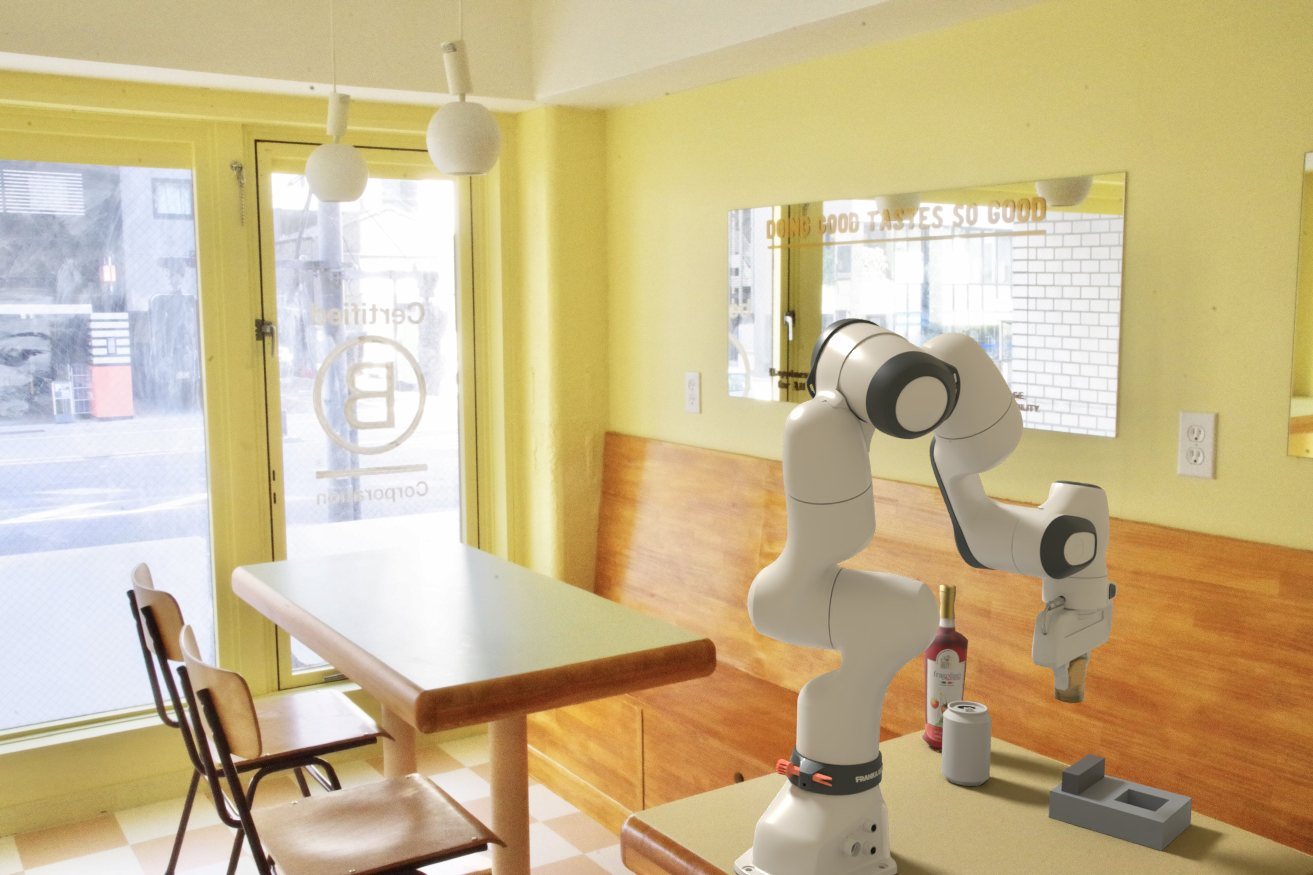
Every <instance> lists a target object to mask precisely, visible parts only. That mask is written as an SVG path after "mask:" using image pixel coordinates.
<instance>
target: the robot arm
mask: <svg viewBox="0 0 1313 875" xmlns="http://www.w3.org/2000/svg"><path fill="white" fill-rule="evenodd" d="M805 383H806V388H807V391H808V394H809V395H810V397H811V399H810V400H806V401H804V402H801V403H800V404H798V405H796V406H795V407H793V409H792V410H791V411H790V412H789V413H788V415H787V417H786V419H785V422H784V426H783V427H784V428H783V436H782V459H781V460H782V463H781V465H782V476H783V477H782V478H783V479H782V480H783V487H784V488H783V489H784V496H785V504H786V505H785V506H786V519H787V520H786V521H787V535H786V536H787V537H786V542H785V545H784V547H783V550H782V551H781V552H780V554H779V556H778V557H777V558H776V559H775V560H774V561H773V562H771V563H770V564H769V565H767V566H765V567H764V568H762V569H761V570H760V571H759V572H758V573H757V574H756V576H755V577H754V579H753V580H752V582H751V585H750V587H749V590H748V592H747V593H748V594H747V601H746V603H747V604H746V605H747V612H748V617H749V619H750V622H751V624H752V625H753V627H754V629H755V631H757V633H758V634H759V635H763V636H765V637H768V638H770V639H773V640H775V641H779V642H782V643H784V644H788V645H792V646H800V647H805V648H806V647H807V648H815V649H820V650H821V649H822V650H823V649H824V650H829V651H830V650H831V651H836V652H838V653H840V654H841V661H840V662H841V663H840V667H839V668H837V669H834V670H832V671H827V672H825V673H822V674H820V675H818V676H815V677H814V678H812V679H810V680H809V681H807V682H806V683H805V684H804V686H802V688H801V690H800V691H799V694H798V696H797V705H796V706H797V707H796V708H797V709H796V740H795V741H796V743H795V746H794V747H793V749H792V753H791V755H790V758H789V761H788V760H786V759H784V758H780V759H779V760H778V761H777V762H776V765H775V772H776V773H777V774H778V775H779V776H785V777H787V778H786V781H785V782H784V784H783V786H782V787H781V788H780V790H779V791H778V793H777V794H776V795H775V797H774V798H773V799H772V801H771V802H770V804H769V806H768V807H767V808H766V809H765V811H763V814H762V815H761V817H760V818H759V819H758V820H757V822H756V825H755V828H754V835H753V841H752V842H753V843H752V846H751V847H750V848H749V849H747V850H746V851H745V852H744V853H742V854H741V855H740V856H739V857H738V858H736V860H734V863H733V869H734V871H735V873H737V875H896V874H897V873H898V864H897V862H896V861H895V859H894V858H892V856H891V846H890V845H891V842H890V827H889V825H890V824H889V812H888V811H889V810H888V807H887V804H886V802H885V799H884V796H883V794H882V792H881V788H880V783H881V782H882V780H883V776H882V775H883V771H884V770H883V768H884V763H883V754H882V751H881V750H880V737H881V736H880V735H881V722H882V713H883V705H884V701H885V700H884V699H885V697H886V694H887V690H888V689H889V687H890V684H891V683H892V681H893V679H894V678H895V676H896V675H897V674H898V673H899V671H900V670H902V668H904V666H905V665H907V664H908V663H909V662H911V661H912V660H914V659H915V658H918V656H920V655H922V654H924V651H925V650H926V649H927V648H928V647H929V646H930V645H931V644H932V642H933V641H934V639H935V637H936V635H937V632H938V629H939V624H940V606H939V603H938V601H937V598H936V595H935V593H934V591H933V590H932V589H931V588H930V586H928V584H927V583H926V582H923V581H920V580H917V579H914V578H911V577H908V576H904V575H901V574H897V573H892V572H885V571H874V570H864V569H857V568H856V569H854V568H846V567H842V566H840V565H839V563H843V562H844V561H848V560H850V559H851V558H853V557H855V556H857V555H858V554H859V553H861V552H862V551H864V549H866V547H868V546H869V545H870V543H871V542H872V540H873V538H874V536H875V533H876V529H877V528H876V527H877V523H876V522H877V521H876V511H875V510H876V509H875V508H876V507H875V498H874V486H873V485H874V484H873V477H872V466H871V460H870V455H869V454H870V448H871V442H872V439H873V435H874V434H875V431H876V430H878V431H879V432H881V433H882V434H884V435H887V436H890V437H893V438H897V439H901V440H902V439H903V440H914V439H915V440H916V439H918V438H921V437H924V436H926V435H929V434H930V433H931V432H932V433H933V437H932V439H931V441H930V445H929V459H930V465H931V468H932V471H933V474H934V475H933V476H934V477H935V481H936V483H937V486H938V488H939V491H940V493H941V496H942V498H943V502H944V504H945V507H946V509H947V512H948V515H949V517H950V521H951V524H952V528H953V537H954V542H955V547H956V549H957V552H958V553H959V555H960V556H961V558H962V560H963V561H964V562H965V563H966V564H967V565H968V566H969V567H971V568H974V569H980V570H981V569H982V570H989V571H991V570H992V571H1000V572H1001V571H1002V572H1006V573H1012V574H1016V575H1021V576H1025V577H1026V576H1029V577H1033V578H1040V579H1042V587H1041V588H1042V589H1041V600H1042V602H1043V603H1044V604H1045V606H1044V607H1045V608H1044V609H1043V610H1041V611H1040V612H1038V614H1037V616H1036V619H1035V622H1034V628H1033V637H1032V646H1031V647H1032V648H1031V659H1032V661H1033V664H1034V665H1035V666H1038V667H1039V666H1040V667H1043V668H1047V669H1052V672H1053V676H1054V682H1055V688H1056V689H1060V690H1066V689H1068V688H1070V686H1071V684H1070V682H1071V677H1069V675H1068V667H1069V663H1070V661H1071V660H1073V659H1075V658H1077V657H1079V656H1081V657H1084V658H1085V659H1086V669H1087V668H1088V665H1089V662H1090V659H1091V656H1092V655H1091V654H1092V650H1094V649H1096V648H1098V647H1099V646H1102V645H1103V644H1106V643H1107V642H1108V641H1109V638H1110V636H1111V632H1112V626H1113V617H1114V616H1113V614H1114V600H1113V599H1115V598H1116V597H1117V595H1118V584H1117V583H1116V582H1113V581H1112V580H1109V579H1108V575H1109V574H1108V573H1109V572H1108V567H1107V562H1106V557H1107V556H1106V555H1107V551H1108V548H1109V544H1110V510H1109V502H1108V496H1107V493H1106V490H1105V489H1103V488H1102V487H1101V486H1099V485H1097V484H1092V483H1087V482H1086V483H1085V482H1079V481H1072V480H1071V481H1070V480H1057V481H1053V482H1052V483H1051V485H1050V488H1049V493H1048V497H1047V500H1045V501H1044V502H1043V503H1042V504H1040V505H1038V506H1037V507H1028V506H1022V505H1015V504H1008V503H1004V502H1002V501H999V500H996V499H993V498H991V497H989V495H987V494H986V491H985V488H984V486H983V483H982V480H981V476H980V474H982V473H985V472H988V471H990V470H992V469H995V468H997V467H999V466H1000V465H1001V464H1002V463H1004V462H1005V461H1006V460H1008V458H1009V457H1010V456H1012V454H1013V453H1014V452H1015V450H1016V449H1017V448H1018V446H1019V444H1020V442H1021V439H1022V437H1023V436H1022V435H1023V431H1024V421H1023V415H1022V413H1021V409H1020V406H1019V404H1018V402H1017V400H1016V398H1015V397H1014V394H1013V392H1012V391H1011V389H1010V387H1009V385H1008V382H1007V380H1006V379H1005V378H1004V376H1003V375H1002V373H1001V371H1000V370H999V368H998V367H997V365H996V364H995V362H994V361H993V359H992V358H991V357H990V355H989V354H988V353H987V352H986V351H985V349H984V348H983V347H982V346H981V345H980V343H979V342H978V341H977V340H976V339H975V338H973V337H972V336H969V335H967V334H965V333H961V332H953V331H952V332H946V333H942V334H937V335H936V336H933V337H931V338H930V339H928V340H926V341H925V342H924V343H922V344H921V345H920V346H917V345H915V344H914V343H913V342H910V341H909V340H908V339H907V338H905V337H904V336H902V335H900V334H898V333H896V332H895V331H892V330H890V329H889V328H885V327H881V326H880V325H879V324H878V323H876V322H873V321H871V320H868V319H863V318H853V317H852V318H850V317H849V318H844V319H839V320H836V321H834V322H832V323H830V324H829V325H828V326H827V327H825V329H824V330H822V331H821V333H820V334H819V336H818V338H817V339H816V342H815V343H814V347H813V350H812V353H811V359H810V371H809V372H808V374H807V377H806V382H805ZM811 386H812V388H813V389H812V388H811ZM1086 678H1087V673H1086V674H1085V679H1086Z"/></svg>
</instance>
